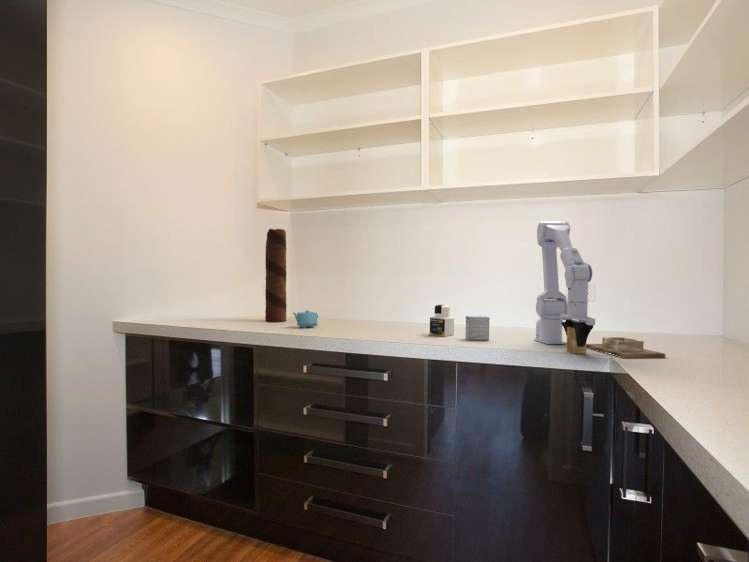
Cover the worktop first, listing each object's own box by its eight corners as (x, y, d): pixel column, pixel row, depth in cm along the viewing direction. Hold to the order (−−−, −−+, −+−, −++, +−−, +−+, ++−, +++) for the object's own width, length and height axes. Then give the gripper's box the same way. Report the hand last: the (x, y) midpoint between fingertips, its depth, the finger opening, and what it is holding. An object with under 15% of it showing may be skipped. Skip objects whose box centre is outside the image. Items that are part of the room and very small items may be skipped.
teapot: (293, 329, 173) (293, 311, 173) (289, 327, 178) (289, 310, 178) (320, 327, 178) (320, 310, 178) (315, 326, 184) (315, 309, 184)
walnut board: (584, 347, 138) (584, 335, 138) (621, 347, 140) (621, 334, 140) (623, 358, 121) (623, 344, 121) (665, 357, 123) (665, 343, 122)
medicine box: (485, 338, 155) (486, 316, 154) (489, 340, 150) (489, 317, 150) (465, 338, 154) (465, 315, 154) (468, 340, 150) (468, 317, 150)
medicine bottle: (429, 334, 163) (429, 304, 162) (439, 333, 168) (439, 304, 168) (444, 336, 158) (444, 306, 158) (454, 334, 163) (454, 305, 163)
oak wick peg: (566, 351, 130) (567, 326, 130) (578, 351, 131) (578, 326, 130) (574, 354, 126) (574, 328, 126) (586, 354, 127) (586, 328, 127)
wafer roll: (266, 322, 192) (267, 227, 191) (263, 320, 202) (264, 230, 201) (288, 322, 196) (289, 229, 195) (284, 319, 206) (285, 231, 205)
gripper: (552, 300, 135) (551, 341, 135) (580, 303, 120) (579, 349, 121) (572, 300, 136) (571, 341, 136) (602, 304, 121) (600, 349, 122)
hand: (576, 345), depth 128 cm, fingers closed on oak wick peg, 4 cm apart
